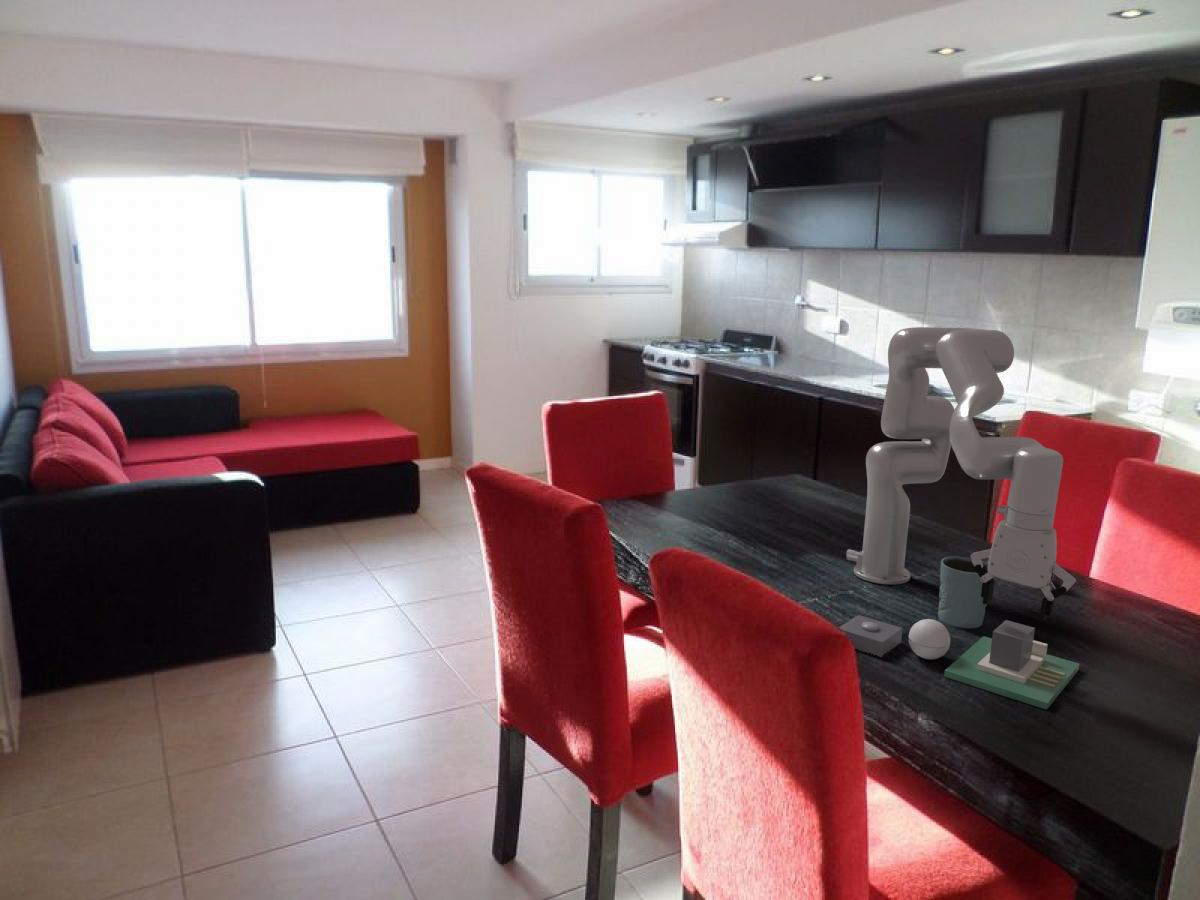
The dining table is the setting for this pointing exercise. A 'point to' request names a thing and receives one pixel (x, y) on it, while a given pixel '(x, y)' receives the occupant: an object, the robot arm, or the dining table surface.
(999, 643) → the grey rectangular block
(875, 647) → the grey button box
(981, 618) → the grey-blue cup
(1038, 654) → the board
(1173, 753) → the dining table surface
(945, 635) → the white ovoid
